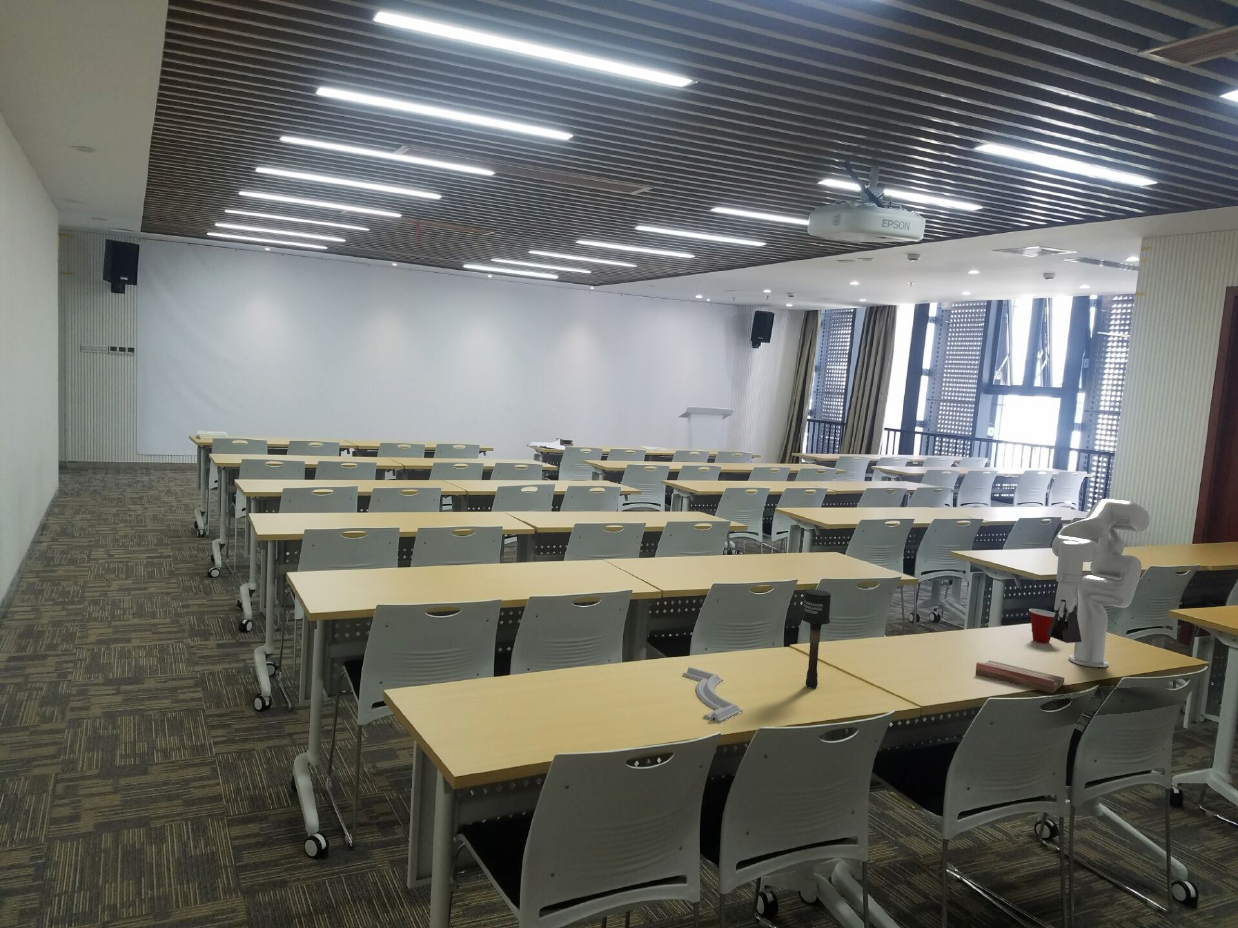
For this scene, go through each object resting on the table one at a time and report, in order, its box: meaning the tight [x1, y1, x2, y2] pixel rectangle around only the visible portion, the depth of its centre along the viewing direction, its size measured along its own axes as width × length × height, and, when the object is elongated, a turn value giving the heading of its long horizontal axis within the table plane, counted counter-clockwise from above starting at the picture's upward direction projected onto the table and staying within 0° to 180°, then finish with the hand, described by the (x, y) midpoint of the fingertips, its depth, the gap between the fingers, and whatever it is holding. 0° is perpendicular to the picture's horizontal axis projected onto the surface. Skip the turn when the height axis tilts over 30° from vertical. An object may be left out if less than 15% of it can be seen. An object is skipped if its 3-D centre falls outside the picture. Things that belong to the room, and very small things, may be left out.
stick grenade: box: [801, 589, 832, 689], centre depth 268 cm, size 8×9×30 cm
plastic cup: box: [1028, 608, 1056, 645], centre depth 337 cm, size 11×11×12 cm
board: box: [975, 660, 1065, 694], centre depth 288 cm, size 14×24×4 cm, turn 50°
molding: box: [682, 666, 744, 724], centre depth 257 cm, size 42×12×3 cm, turn 5°
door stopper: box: [1047, 605, 1082, 644], centre depth 292 cm, size 9×6×12 cm, turn 17°
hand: (1064, 629), depth 292 cm, fingers closed on door stopper, 5 cm apart
